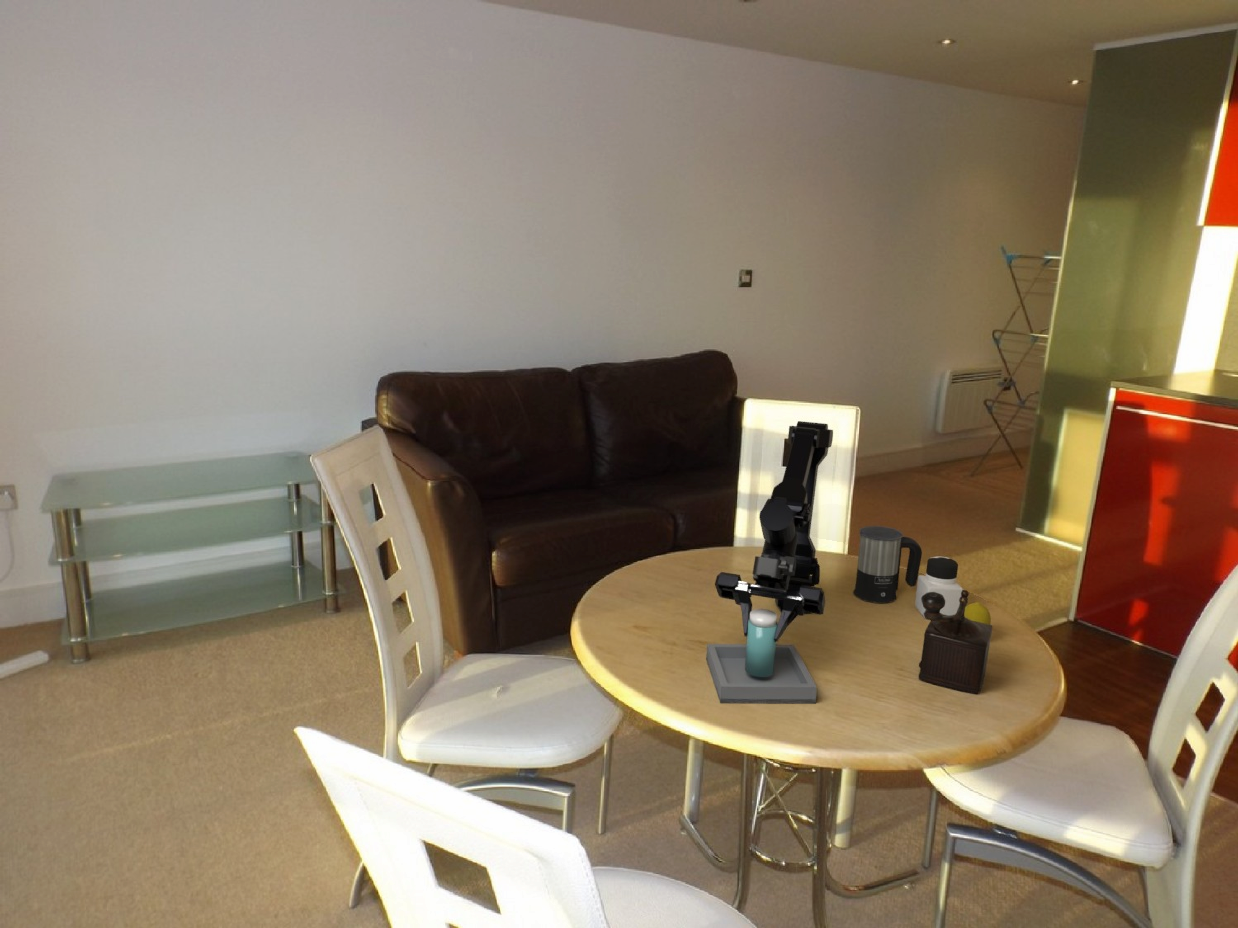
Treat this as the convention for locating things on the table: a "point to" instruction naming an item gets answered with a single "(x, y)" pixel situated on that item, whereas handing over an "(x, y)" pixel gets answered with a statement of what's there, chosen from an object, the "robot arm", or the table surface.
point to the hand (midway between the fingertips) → (760, 638)
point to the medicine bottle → (940, 584)
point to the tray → (742, 687)
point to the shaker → (761, 643)
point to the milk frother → (884, 563)
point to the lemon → (977, 613)
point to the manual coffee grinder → (953, 647)
